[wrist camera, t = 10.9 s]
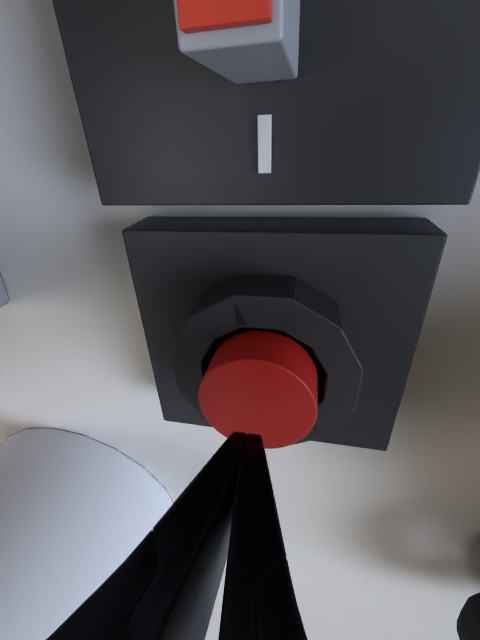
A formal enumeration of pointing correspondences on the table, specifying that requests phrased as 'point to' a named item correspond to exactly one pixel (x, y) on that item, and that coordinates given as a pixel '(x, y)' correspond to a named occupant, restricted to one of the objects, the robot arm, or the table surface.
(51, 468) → the canister
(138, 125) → the panel
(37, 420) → the table surface
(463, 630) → the device
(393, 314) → the button block
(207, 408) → the power button
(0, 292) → the wrapped gift box
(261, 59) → the grey rectangular block
